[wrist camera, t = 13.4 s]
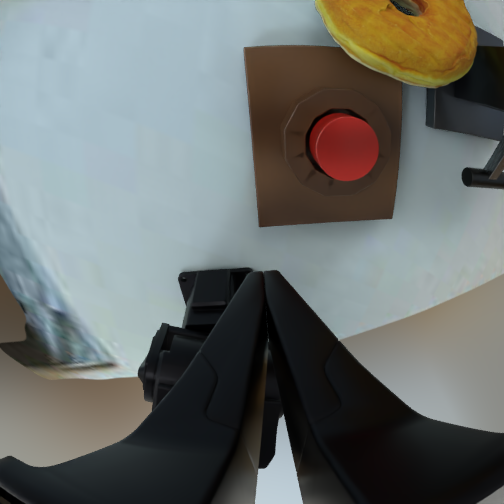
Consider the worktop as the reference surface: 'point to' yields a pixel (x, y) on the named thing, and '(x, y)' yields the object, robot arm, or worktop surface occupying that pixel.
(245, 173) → the worktop surface
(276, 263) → the worktop surface
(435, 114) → the bracket
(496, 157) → the lever
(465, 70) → the yellow donut
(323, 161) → the button
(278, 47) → the button block
